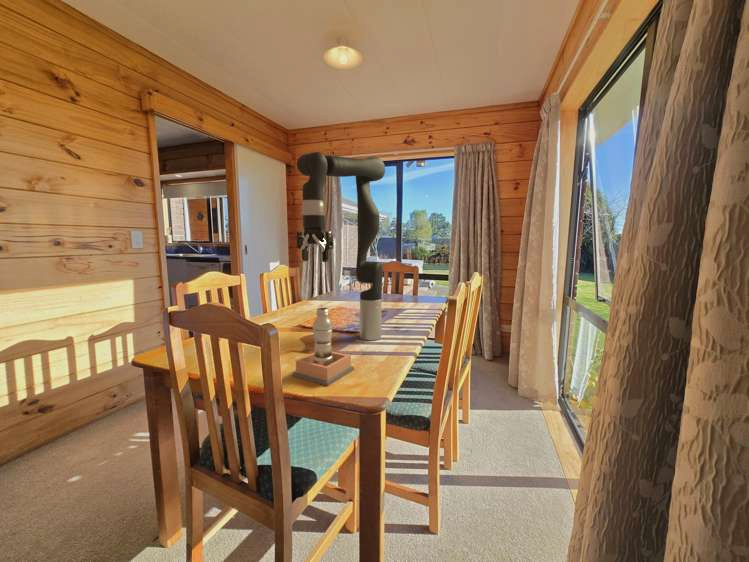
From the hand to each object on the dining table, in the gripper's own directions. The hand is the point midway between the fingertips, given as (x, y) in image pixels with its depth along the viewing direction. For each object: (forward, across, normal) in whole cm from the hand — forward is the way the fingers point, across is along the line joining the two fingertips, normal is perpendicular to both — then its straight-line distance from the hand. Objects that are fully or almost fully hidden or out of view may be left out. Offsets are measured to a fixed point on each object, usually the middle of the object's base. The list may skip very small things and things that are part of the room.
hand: (315, 261), depth 116 cm
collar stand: (+35, -11, +10) cm, 38 cm away
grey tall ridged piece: (+34, -10, +10) cm, 37 cm away
